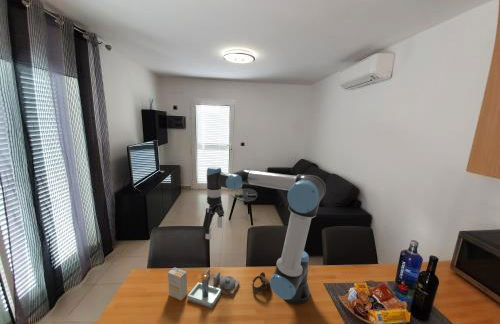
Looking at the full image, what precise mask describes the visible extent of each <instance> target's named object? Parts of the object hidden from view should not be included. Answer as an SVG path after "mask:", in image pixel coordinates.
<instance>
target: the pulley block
mask: <svg viewBox="0 0 500 324" xmlns="http://www.w3.org/2000/svg"><path fill="white" fill-rule="evenodd" d="M204 273H208V274H209V278H208V285H209V286H213V287H216V288H219V289H221V294H223V295H226V296H230V297H234V295H235V294H236V292H237V289H238V287H239V286H240V280H237V279H235V278H234V277H233V276H230V275H226V276H223V275H221V272H220V271H217V272H215V273H212V272H211V269H210V268H207V269H206V271H204Z"/></svg>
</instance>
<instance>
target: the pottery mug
mask: <svg viewBox="0 0 500 324" xmlns="http://www.w3.org/2000/svg"><path fill="white" fill-rule="evenodd" d="M258 279H259V280H260V282H261V283H260V284H261V285H259V286H257V287H256V286H255V285H254V284H255V282H257V281H256V280H258ZM251 286H252V291H253V292H255V293H261V294H263V292H264V291H263V290H265V289H268V288H269V289H268V290H269V291H270V293H271V292H272V289H271V286H270V279H268V278H267V277H266V273H265V272H263V271H262V272H260V274H259V275H256V276H255V277H254V278H253V280H252V284H251Z"/></svg>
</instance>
